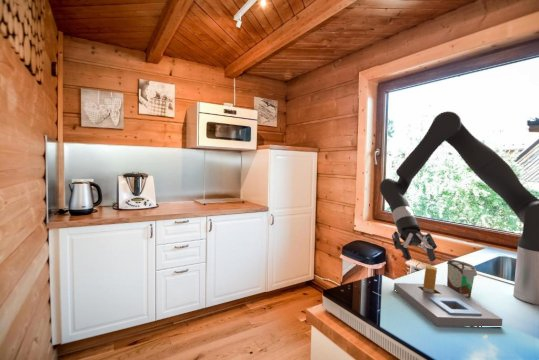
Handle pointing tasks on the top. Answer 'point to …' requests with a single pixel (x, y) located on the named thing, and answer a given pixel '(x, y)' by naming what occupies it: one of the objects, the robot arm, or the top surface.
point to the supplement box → (429, 279)
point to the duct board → (446, 306)
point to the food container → (460, 277)
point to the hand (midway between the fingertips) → (421, 260)
